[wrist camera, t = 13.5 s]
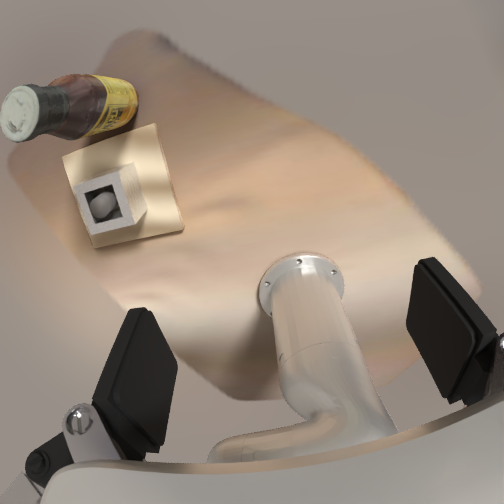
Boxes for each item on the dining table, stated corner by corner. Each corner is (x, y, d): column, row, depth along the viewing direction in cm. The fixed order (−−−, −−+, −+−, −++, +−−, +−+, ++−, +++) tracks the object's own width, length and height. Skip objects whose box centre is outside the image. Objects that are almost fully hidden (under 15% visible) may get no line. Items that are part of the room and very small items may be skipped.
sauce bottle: (107, 135, 33) (1, 179, 15) (91, 93, 30) (-22, 108, 12) (151, 113, 32) (59, 135, 14) (135, 69, 29) (33, 54, 11)
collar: (147, 208, 37) (135, 224, 32) (106, 218, 37) (90, 235, 33) (133, 161, 33) (118, 171, 29) (91, 174, 34) (73, 186, 30)
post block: (184, 226, 39) (173, 252, 33) (97, 245, 40) (76, 270, 34) (156, 122, 32) (136, 128, 26) (65, 155, 33) (36, 168, 27)
